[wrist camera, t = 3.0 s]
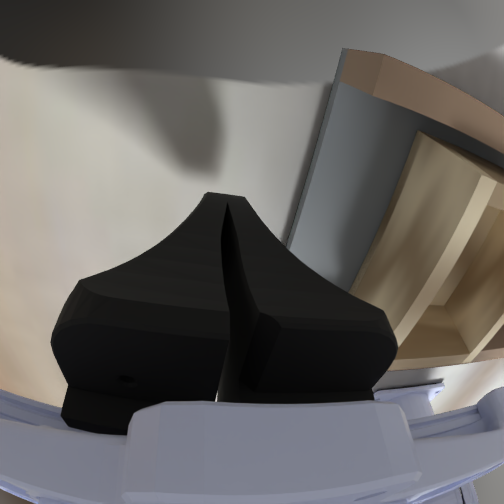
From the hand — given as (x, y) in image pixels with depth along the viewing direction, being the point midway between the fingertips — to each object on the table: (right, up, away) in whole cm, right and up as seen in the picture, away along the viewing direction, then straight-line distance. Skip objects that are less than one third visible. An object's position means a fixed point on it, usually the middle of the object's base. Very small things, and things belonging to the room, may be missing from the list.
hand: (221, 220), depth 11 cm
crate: (+10, 0, +3) cm, 10 cm away
